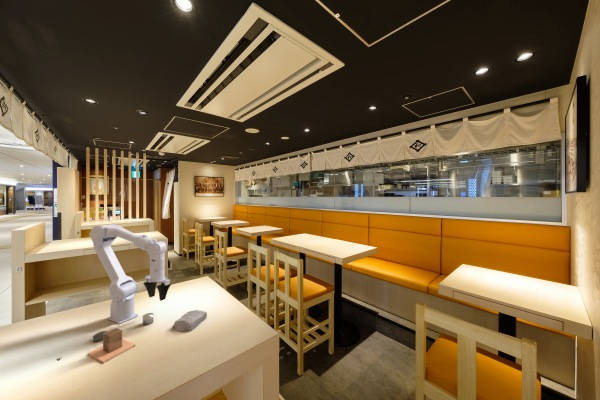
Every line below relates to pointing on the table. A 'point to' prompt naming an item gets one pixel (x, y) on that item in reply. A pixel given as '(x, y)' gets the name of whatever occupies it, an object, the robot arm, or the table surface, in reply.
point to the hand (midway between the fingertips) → (157, 298)
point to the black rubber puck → (98, 336)
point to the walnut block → (112, 340)
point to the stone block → (190, 320)
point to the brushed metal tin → (148, 319)
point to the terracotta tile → (105, 356)
